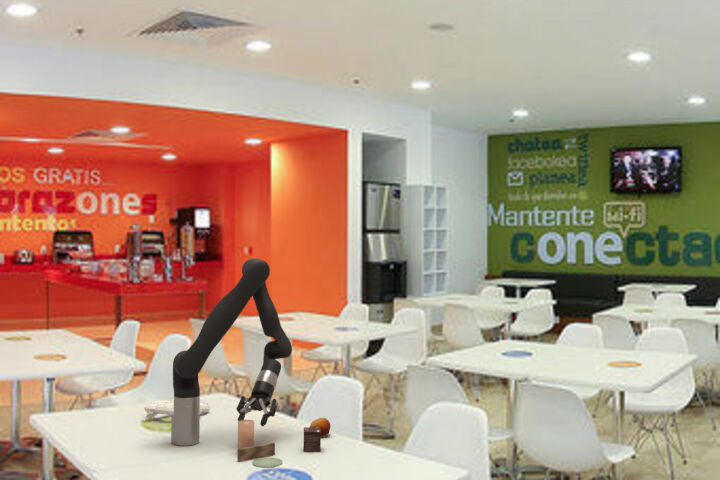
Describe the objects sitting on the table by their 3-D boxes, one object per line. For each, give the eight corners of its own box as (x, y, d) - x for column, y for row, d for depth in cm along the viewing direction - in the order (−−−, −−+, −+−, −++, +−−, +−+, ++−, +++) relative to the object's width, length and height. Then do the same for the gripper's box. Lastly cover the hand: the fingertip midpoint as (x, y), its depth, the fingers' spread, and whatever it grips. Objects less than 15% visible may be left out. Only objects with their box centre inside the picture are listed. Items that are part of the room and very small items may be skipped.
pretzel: (163, 410, 339) (164, 395, 340) (215, 414, 336) (216, 399, 336) (135, 417, 312) (136, 400, 313) (191, 421, 308) (193, 405, 309)
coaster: (247, 465, 257) (247, 464, 257) (260, 457, 266) (260, 456, 266) (274, 469, 253) (274, 467, 253) (287, 460, 263) (287, 459, 263)
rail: (239, 461, 261) (239, 450, 261) (237, 461, 262) (237, 449, 262) (274, 454, 269) (275, 443, 269) (273, 454, 270) (273, 442, 270)
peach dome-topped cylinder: (234, 454, 269) (235, 422, 269) (242, 450, 275) (242, 419, 275) (249, 456, 268) (249, 424, 267) (256, 451, 273) (256, 420, 273)
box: (303, 447, 279) (303, 427, 279) (320, 447, 280) (320, 426, 279) (303, 452, 273) (303, 431, 273) (320, 452, 273) (320, 431, 273)
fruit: (332, 435, 289) (322, 416, 290) (314, 445, 291) (304, 426, 292) (337, 430, 297) (327, 412, 298) (320, 439, 299) (310, 421, 300)
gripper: (244, 378, 285) (229, 416, 274) (279, 381, 280) (266, 420, 270) (250, 390, 290) (236, 428, 279) (285, 392, 286) (272, 431, 275)
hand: (250, 424), depth 274 cm, fingers open, 8 cm apart
